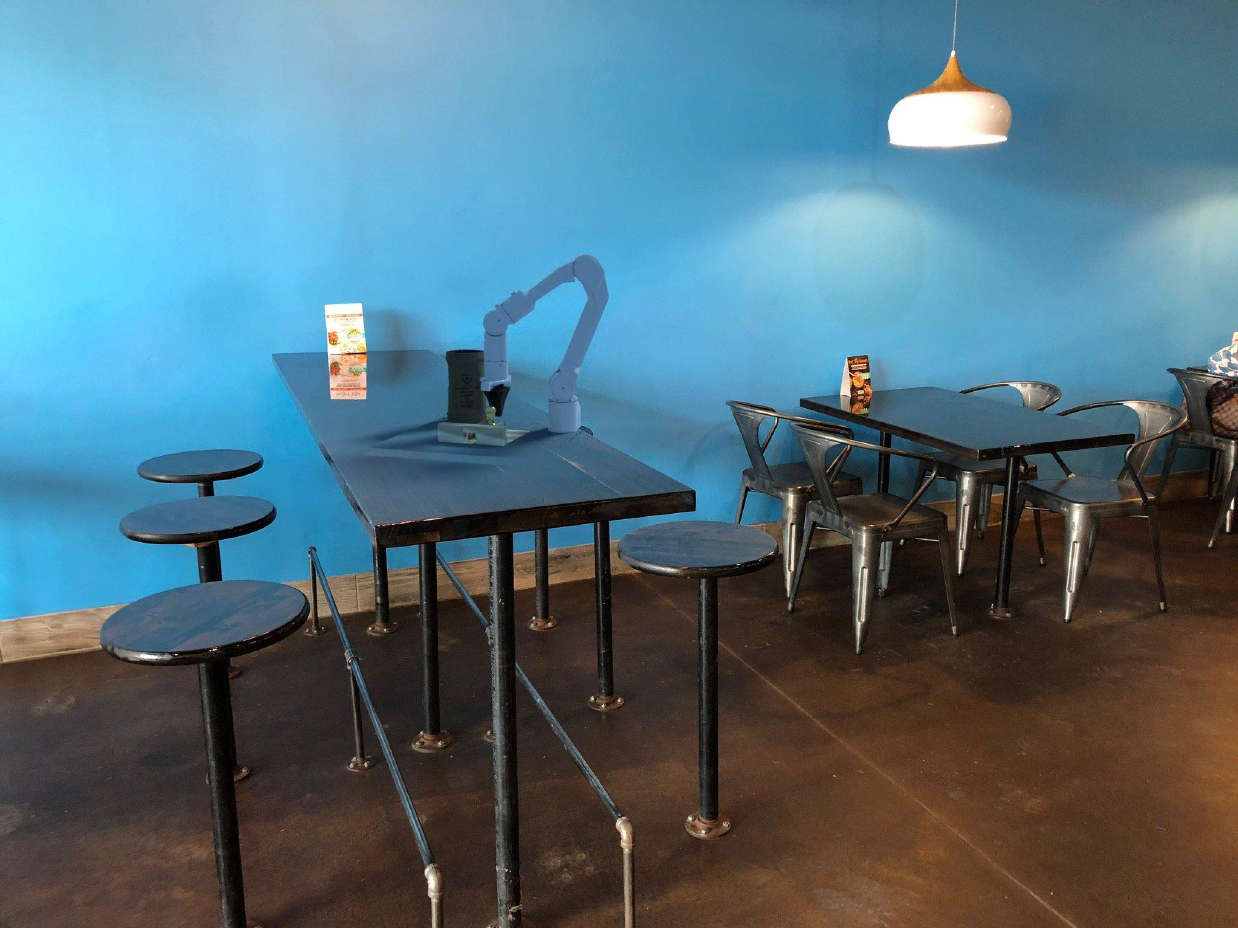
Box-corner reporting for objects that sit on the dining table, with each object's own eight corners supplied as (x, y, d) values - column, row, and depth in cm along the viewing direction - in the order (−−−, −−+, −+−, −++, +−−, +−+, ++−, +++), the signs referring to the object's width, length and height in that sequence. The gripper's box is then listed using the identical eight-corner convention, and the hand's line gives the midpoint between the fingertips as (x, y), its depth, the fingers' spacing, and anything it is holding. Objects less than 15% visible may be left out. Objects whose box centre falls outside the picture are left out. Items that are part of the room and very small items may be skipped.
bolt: (488, 431, 229) (487, 404, 228) (497, 431, 228) (497, 405, 227) (474, 437, 221) (474, 410, 220) (484, 438, 221) (483, 410, 219)
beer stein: (493, 430, 239) (491, 350, 236) (451, 432, 235) (448, 351, 232) (479, 423, 253) (476, 348, 250) (439, 425, 249) (436, 349, 246)
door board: (469, 433, 235) (468, 411, 234) (530, 437, 231) (530, 414, 230) (438, 447, 218) (437, 424, 217) (503, 452, 214) (502, 428, 213)
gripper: (492, 356, 235) (493, 410, 239) (468, 363, 222) (469, 420, 225) (518, 357, 234) (519, 412, 237) (496, 364, 220) (497, 422, 223)
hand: (497, 416), depth 231 cm, fingers closed
